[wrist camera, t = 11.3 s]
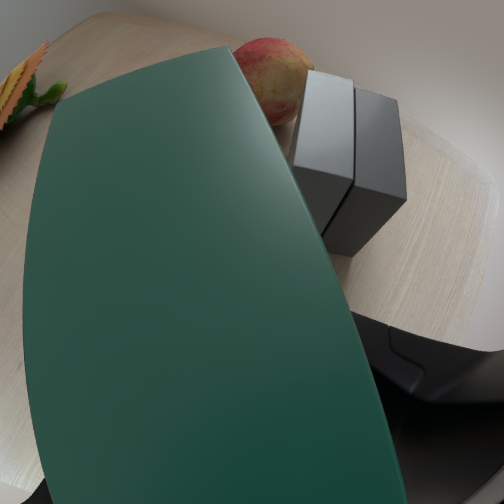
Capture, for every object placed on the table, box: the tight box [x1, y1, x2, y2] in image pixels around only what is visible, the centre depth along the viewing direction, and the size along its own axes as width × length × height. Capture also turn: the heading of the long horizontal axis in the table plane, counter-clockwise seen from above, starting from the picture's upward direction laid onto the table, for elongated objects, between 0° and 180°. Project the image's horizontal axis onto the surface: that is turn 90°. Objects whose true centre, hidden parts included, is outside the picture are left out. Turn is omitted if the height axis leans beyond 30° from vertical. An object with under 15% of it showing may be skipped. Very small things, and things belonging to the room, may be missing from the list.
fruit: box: [233, 38, 314, 126], centre depth 24 cm, size 8×8×8 cm
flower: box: [0, 41, 67, 130], centre depth 26 cm, size 15×13×8 cm
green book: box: [23, 46, 409, 504], centre depth 9 cm, size 8×4×14 cm, turn 15°
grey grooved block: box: [287, 70, 407, 257], centre depth 20 cm, size 8×6×10 cm
